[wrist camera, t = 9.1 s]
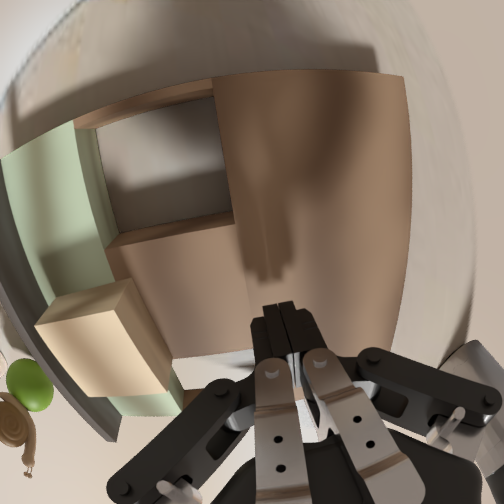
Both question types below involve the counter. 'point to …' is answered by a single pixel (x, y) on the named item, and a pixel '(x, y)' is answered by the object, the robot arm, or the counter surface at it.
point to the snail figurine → (23, 406)
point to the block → (107, 341)
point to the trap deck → (224, 225)
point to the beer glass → (3, 365)
